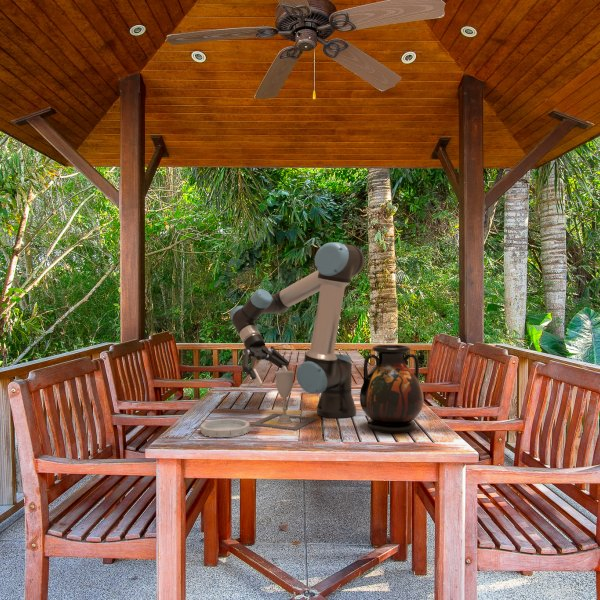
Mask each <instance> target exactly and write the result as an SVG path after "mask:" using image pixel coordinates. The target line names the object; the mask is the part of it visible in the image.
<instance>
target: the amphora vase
mask: <svg viewBox="0 0 600 600" xmlns="http://www.w3.org/2000/svg"><path fill="white" fill-rule="evenodd" d="M371 349H372V351H374V352H376V353H377V355H378V356H377V355H376V354H373V353H371V354H370V353H369V354H368V355H366V356H365V358H364V360H363V383H362V385H361V387H360V391H359V392H360V393H359V404H360V407H361V409H362V411H363V412H364V414H365V415H366V416H367V418H369V419H368V420H367V422H366V423H367V427H368V428H369V429H371V430H372V431H375V432H380V433H385V434H404V433H409V432H412V431H413V430H415V429H416V427H417V424H416V422H415V419H416V418H417V417H418V416H419V414H420V413H421V411H422V409H423V407H424V401H425V400H424V397H425V396H424V392H423V388H422V386H421V384H420V364H419V362H420V361H419V359H418V357H417V355H415V354H414V353H408V352H410V351H411V347H410V346H408V345H401V344H378V345H374V346H373V347H372V348H371ZM406 353H408V354H406ZM405 354H406V355H405ZM410 358H412V359H413V362H414V371H412V370H411V369H410V367H409V366H408V360H409V359H410ZM370 359H374V360H375V365H374V366H373V367H372V368H371V370H370V371H369V372H368V363H369V360H370Z"/></svg>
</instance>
